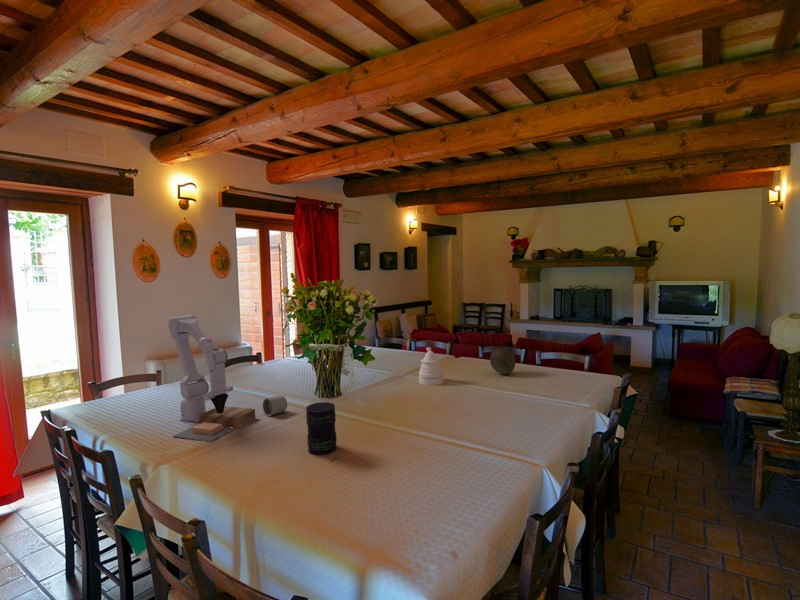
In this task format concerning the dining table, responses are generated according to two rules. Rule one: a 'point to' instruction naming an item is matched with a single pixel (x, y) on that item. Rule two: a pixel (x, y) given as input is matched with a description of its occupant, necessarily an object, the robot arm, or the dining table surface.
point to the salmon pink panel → (207, 428)
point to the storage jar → (321, 428)
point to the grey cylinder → (274, 405)
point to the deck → (228, 416)
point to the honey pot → (430, 370)
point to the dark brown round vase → (502, 360)
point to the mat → (189, 435)
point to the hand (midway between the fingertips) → (220, 412)
